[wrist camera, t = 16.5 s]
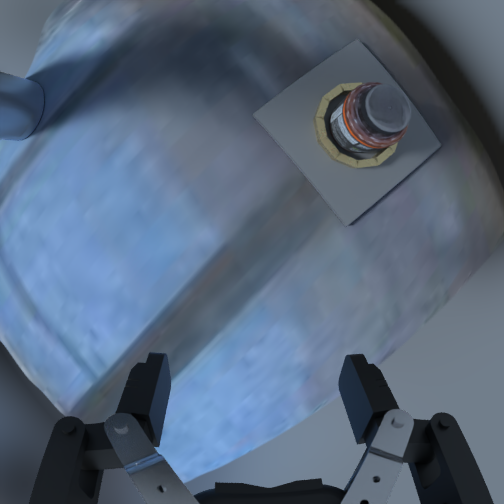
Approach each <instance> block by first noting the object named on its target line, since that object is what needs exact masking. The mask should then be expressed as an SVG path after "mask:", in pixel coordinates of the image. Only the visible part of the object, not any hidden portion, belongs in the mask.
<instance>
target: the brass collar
mask: <svg viewBox="0 0 504 504" xmlns="http://www.w3.org/2000/svg"><path fill="white" fill-rule="evenodd" d="M361 84H364V83H362V82H360V83H345V84H339V85H338V86H336V87H335V88H334V89H332V90H331V91H330V92H328V93H327V94H326V95H324V96H323V97H322V99H321V100H320V102H319V105H318V108H317V111H316V113H315V116H314V119H313V123H314V128H315V133H316V138H317V142H318V144H319V145H320V146H321V147H322V148H323V150H324V151H325V152H326V153H327V154H328V156H329V157H330V158H331V159H332V160H334V161H336V162H338V163H341V164H343V165H345V166H348V167H350V168H362V167H370V166H378V165H380V164H381V163H382V162H383V161H385V160H386V159H387V158H388V157H389V156H391V155H392V154H393V153H394V152H395V150H396V147H397V143H398V142H397V143H396V144H394V145H392V146H389V147H386V148H383V149H382V150H380V151H379V152H378V153H377V154H375V155H374V156H373V157H372V158H371V159H364V160H356V159H354V158H351V157H349V156H347V155H344V154H342V153H340V152H339V151H338V150H337V148H336V147H335V146H334V145H333V143H332V142H331V141H330V140H329V139H328V137H327V133H326V128H325V123H324V115H325V113H326V110H327V107H328V104H329V103H330V102H331V101H332V100H334V99H335V98H336V97H338V96H339V95H347V94H349V93H350V92H351V91H352V90H353V89H355V88H356V87H357V86H359V85H361Z"/></svg>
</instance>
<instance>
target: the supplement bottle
mask: <svg viewBox="0 0 504 504" xmlns="http://www.w3.org/2000/svg"><path fill="white" fill-rule="evenodd" d="M411 115H412V111H411V105H410V102H409V100H408V98H407V97H406V95H405V94H404V93H403V92H402V91H401V90H400V89H398V88H396V87H395V86H392V85H388V84H382V83H379V82H368V83H364V84H361V85H359V86H357V87H356V88H355V89H353V90H352V91H351V92H350V93H349V94H348V95H347V96H346V97H345V98H344V100H343V101H342V102H341V103H340V104H339V105H338V106H337V107H335V109H334V111H333V112H332V114H331V117H330V124H329V127H330V132H331V135H332V137H333V139H334V140H335V142H336V143H337V144H338V145H339V146H340V147H341V148H343V149H345V150H347V151H350V152H353V153H364V152H368V151H373V150H377V149H382V148H386V147H389V146H392V145H394V144H396V143H397V142H398V141H400V140H401V139H402V138H403V136H404V135H405V133H406V131H407V128H408V124H409V122H410V120H411Z"/></svg>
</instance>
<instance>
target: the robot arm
mask: <svg viewBox="0 0 504 504" xmlns="http://www.w3.org/2000/svg"><path fill="white" fill-rule="evenodd" d="M43 107H44V93H43V90H42V87H41V86H40V85H39V84H38V83H37V82H34V81H31V80H28V79H24V78H21V77H18V76H14V75H11V74H7V73H4V72H0V140H17V141H19V140H23V139H25V138H27V137H28V136H29V135H30V134H31V133H32V132H33V131H34V129H35V128H36V126H37V125H38V123H39V120H40V118H41V115H42V112H43ZM170 389H171V376H170V370H169V364H168V357H167V354H165V353H153V352H150V353H149V355H148V358H147V361H146V363H139V362H138V363H137V364H136V365H135V366H134V367H133V368H132V369H131V371H130V374H129V377H128V380H127V382H126V387H125V388H124V391H123V394H122V396H121V399H120V402H119V405H118V408H117V411H116V413H115V414H113V415H111V416H109V417H108V418H107V419H106V421H105V422H103V423H96V424H84V423H83V422H82V421H81V420H80V419H79V418H76V417H72V416H68V417H64V418H62V419H60V420H59V421H58V422H57V423H56V424H55V426H54V429H53V432H52V434H51V437H50V440H49V442H48V445H47V448H46V451H45V454H44V456H43V459H42V462H41V466H40V468H39V472H38V475H37V478H36V481H35V484H34V488H33V491H32V494H31V498H30V502H29V504H97V503H98V498H99V491H100V487H101V482H102V476H103V471H104V469H115V468H125V470H126V472H127V473H128V475H129V477H130V479H131V480H132V482H133V483H134V485H135V487H136V488H137V490H138V491H139V493H140V495H141V496H142V498H143V499H144V501H145V502H146V504H386V503H387V501H388V499H389V497H390V494H391V492H392V490H393V487H394V485H395V483H396V481H397V478H398V476H399V473H400V470H401V468H402V465H403V462H405V463H408V465H409V468H410V471H411V473H412V477H413V480H414V483H415V486H416V489H417V493H418V496H419V500H420V503H421V504H494V503H493V501H492V498H491V496H490V493H489V491H488V488H487V486H486V484H485V481H484V479H483V476H482V474H481V472H480V470H479V467H478V465H477V463H476V461H475V458H474V456H473V454H472V452H471V450H470V448H469V446H468V444H467V442H466V439H465V437H464V435H463V433H462V431H461V429H460V427H459V425H458V423H457V421H456V420H455V418H454V417H453V416H451V415H450V414H447V413H442V412H441V413H437V414H435V415H434V416H433V417H432V418H431V420H418V419H413V418H412V416H411V415H410V414H409V413H408V412H406V411H403V410H400V409H399V407H398V405H397V402H396V400H395V398H394V396H393V394H392V392H391V390H390V388H389V387H388V384H387V382H386V380H385V378H384V376H383V374H382V372H381V370H380V369H378V368H377V367H376V366H375V365H374V364H368V362H367V360H366V358H365V356H364V355H363V354H353V355H347V356H346V357H345V360H344V364H343V367H342V370H341V374H340V377H339V391H340V394H341V397H342V400H343V403H344V406H345V409H346V412H347V415H348V418H349V421H350V424H351V427H352V430H353V433H354V436H355V439H356V442H357V444H362V443H366V446H367V448H366V450H365V452H364V454H363V456H362V458H361V460H360V462H359V464H358V466H357V468H356V469H355V471H354V473H353V475H352V477H351V478H350V480H349V482H348V483H347V485H346V487H345V488H344V490H342V489H339V488H337V487H333V486H329V485H323V484H322V479H321V478H320V479H310V480H300V481H294V482H291V483H287V484H284V485H280V486H277V487H273V488H265V487H259V486H254V485H249V484H244V483H217V482H216V483H215V489H209V490H206V491H203V492H201V493H198V494H196V495H194V496H193V495H192V494H191V493H190V491H189V490H188V489H187V488H186V486H185V485H184V484H183V482H182V481H181V480H180V479H179V477H178V476H177V475H176V473H175V472H174V471H173V469H172V468H171V467H170V465H169V464H168V462H167V461H166V460H165V458H164V457H163V456H162V455H159V454H158V452H157V451H156V449H155V448H154V447H159V445H160V440H161V435H162V429H163V424H164V419H165V414H166V409H167V404H168V399H169V395H170Z"/></svg>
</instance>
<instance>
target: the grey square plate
mask: <svg viewBox="0 0 504 504" xmlns="http://www.w3.org/2000/svg"><path fill="white" fill-rule="evenodd" d="M360 82H362V83H368V82H379V83H382V84H388V85H392V86H395V87H396V88H398V89H400V90H401V91H402V92H403V93H404V91H403V90H402V89H401V88H400V86H399V85H398V84H397V83H396V81H395V80H394V79H393V78H392V77H391V75H390V74H389V73H388V72H387V71H386V69H385V68H384V67H383V66H382V65H381V64H380V63H379V61H378V60H377V59H376V58H375V57H374V56H373V55H372V54H371V52H370V51H369V50H368V49H367V48H366V47H365V46H364V45H363V44H362V43H361V42H360V41H359V40H358V39H356V40H354V41H353V42H351V43H350V44H348V45H347V46H345V47H344V48H342V49H341V50H339V51H338V52H336V53H335V54H333V55H332V56H330V57H329V58H327V59H326V60H324V61H323V62H322V63H320V64H319V65H317V66H316V67H314V68H313V69H312V70H310V71H309V72H307V73H306V74H305V75H303V76H302V77H301V78H299V79H298V80H296V81H295V82H294V83H292V84H291V85H290V86H288V87H287V88H286V89H284V90H283V91H282V92H280V93H279V94H278V95H277V96H275V97H274V98H273V99H271V100H270V101H269V102H268V103H266V104H265V105H264V106H262V107H261V108H260V109H259V110H257V111H256V112H255V113H254V114H253V117H254V118H255V119H256V120H257V122H258V123H259V124H260V125H261V126H262V127H263V128H264V129H265V130H266V132H267V133H268V134H269V135H270V136H271V137H272V138H273V139H274V141H275V142H276V143H277V144H278V145H279V146H280V147H281V149H282V150H283V151H284V152H285V153H286V154H287V156H288V157H289V158H290V159H291V160H292V161H293V163H294V164H295V165H296V166H297V167H298V169H299V170H300V171H301V172H302V173H303V175H304V176H305V177H306V178H307V179H308V181H309V182H310V183H311V184H312V186H313V187H314V188H315V189H316V191H317V192H318V193H319V194H320V196H321V197H322V198H323V199H324V201H325V202H326V203H327V204H328V206H329V207H330V208H331V210H332V211H333V212H334V213H335V215H336V216H337V217H338V219H339V220H340V221H341V222H342V224H343V225H344V226H345V227H347V226H348V225H349V224H350V223H351V222H353V221H354V220H355V219H356V218H358V217H359V216H360V215H361V214H362V213H364V212H365V211H366V210H367V209H368V208H370V207H371V206H372V205H373V204H374V203H376V202H377V201H378V200H379V199H380V198H381V197H383V196H384V195H385V194H386V193H387V192H389V191H390V190H391V189H392V188H393V187H394V186H396V185H397V184H398V183H399V182H400V181H401V180H403V179H404V178H405V177H406V176H407V175H408V174H410V173H411V172H412V171H413V170H414V169H415V168H416V167H418V166H419V165H420V164H421V163H422V162H423V161H424V160H426V159H427V158H428V157H429V156H430V155H431V154H432V153H434V152H435V151H436V150H437V149H438V148H439V147H440V146H441V144H440V142H439V140H438V139H437V137H436V136H435V134H434V133H433V131H432V130H431V128H430V127H429V125H428V124H427V123H426V121H425V120H424V118H423V117H422V115H421V114H420V113H419V111H418V110H417V109H416V107H415V106H414V105H413V103H412V102H411V101H410V99H409V98H408V97H407V95H406V94H405V93H404V94H405V95H406V97H407V98H408V100H409V102H410V105H411V111H412V115H411V120H410V122H409V124H408V128H407V131H406V133H405V135H404V136H403V138H402V139H401V140H400V141H398V143H397V147H396V150H395V152H394V153H393V154H392V155H391V156H389V157H388V158H387V159H386V160H385V161H383V162H382V163H381V164H380V165H378V166H370V167H362V168H350V167H348V166H345V165H343V164H341V163H338V162H336V161H334V160H332V159H331V158H330V157H329V156H328V154H327V153H326V152H325V151H324V150H323V148H322V147H321V146H320V145H319V144H318V142H317V138H316V133H315V128H314V123H313V119H314V116H315V113H316V111H317V108H318V105H319V102H320V100H321V99H322V97H323V96H324V95H326V94H327V93H328V92H330V91H331V90H332V89H334V88H335V87H336V86H338V85H339V84H345V83H360ZM347 95H348V94H347ZM347 95H339V96H338V97H336V98H335V99H334V100H332V101H331V102H330V103H329V104H328V107H327V110H326V113H325V115H324V123H325V128H326V133H327V137H328V139H329V140H330V141H331V142H332V143H333V145H334V146H335V147H336V148H337V150H338V151H339V152H340V153H342V154H344V155H347V156H349V157H351V158H354V159H356V160H364V159H371V158H372V157H373V156H374V155H375V154H377V153H378V152H379V151H380V150H382V149H383V148H382V149H377V150H373V151H368V152H364V153H353V152H350V151H347V150H345V149H343V148H341V147H340V146H339V145H338V144H337V143H336V142H335V140H334V139H333V137H332V135H331V132H330V127H329V124H330V117H331V114H332V112H333V111H334V109H335V107H337V106H338V105H339V104H340V103H341V102H342V101H343V100H344V98H345V97H346V96H347Z"/></svg>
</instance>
